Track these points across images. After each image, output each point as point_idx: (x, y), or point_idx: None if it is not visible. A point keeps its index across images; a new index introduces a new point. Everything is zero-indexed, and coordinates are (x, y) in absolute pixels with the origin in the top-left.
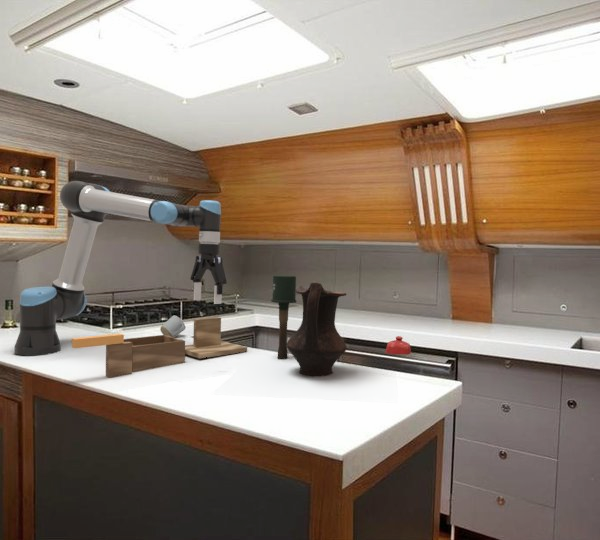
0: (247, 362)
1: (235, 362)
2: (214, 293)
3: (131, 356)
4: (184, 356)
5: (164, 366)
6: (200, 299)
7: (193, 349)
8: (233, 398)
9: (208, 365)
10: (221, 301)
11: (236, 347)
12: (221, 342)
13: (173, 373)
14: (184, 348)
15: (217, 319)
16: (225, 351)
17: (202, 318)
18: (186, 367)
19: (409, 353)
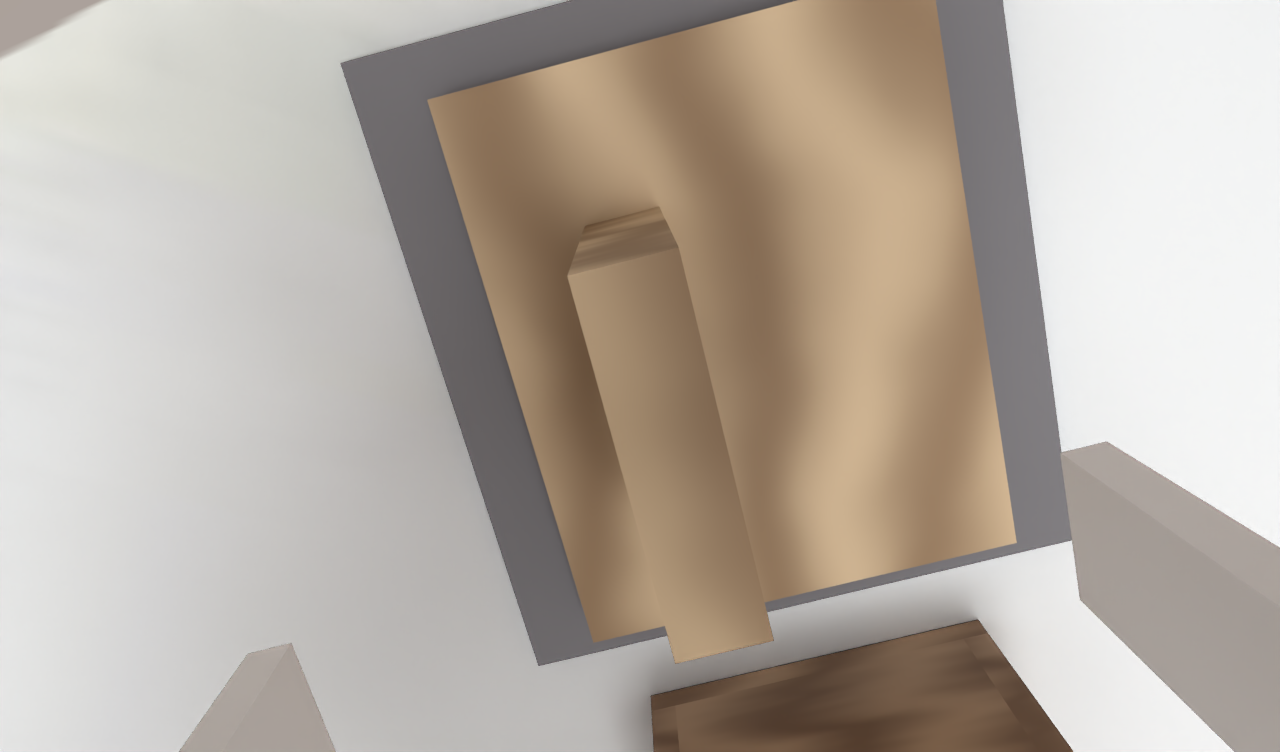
0: (1165, 103)
1: (1106, 211)
2: (1235, 740)
3: None
4: (1006, 662)
5: None
6: (291, 657)
7: (793, 535)
8: None
9: None
10: (1132, 459)
11: (880, 91)
12: (526, 146)
13: (1187, 745)
14: (1037, 706)
15: (691, 311)
16: (971, 264)
17: (650, 538)
18: (1065, 629)
19: None
